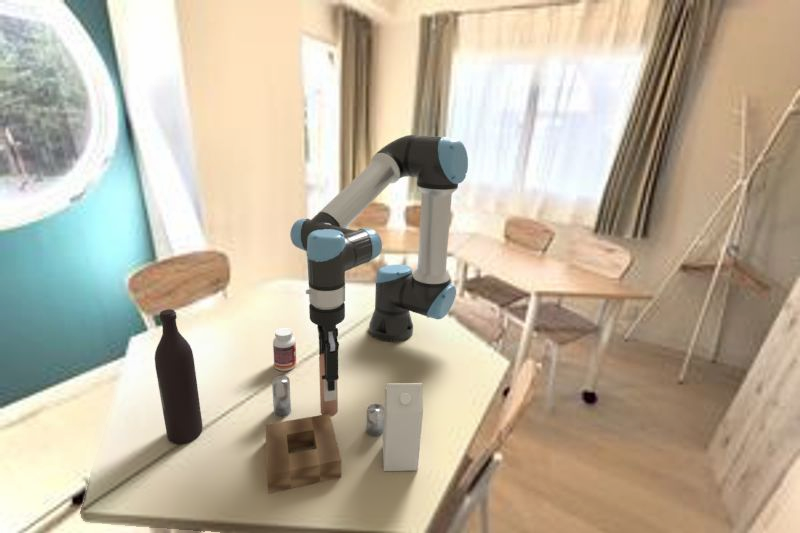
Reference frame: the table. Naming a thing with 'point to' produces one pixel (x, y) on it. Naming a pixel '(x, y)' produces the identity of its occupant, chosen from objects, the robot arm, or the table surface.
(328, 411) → the long pin
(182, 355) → the wine bottle
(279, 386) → the medium pin
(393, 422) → the milk carton
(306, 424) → the hole block
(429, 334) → the table surface
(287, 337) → the pill bottle
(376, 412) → the short pin
